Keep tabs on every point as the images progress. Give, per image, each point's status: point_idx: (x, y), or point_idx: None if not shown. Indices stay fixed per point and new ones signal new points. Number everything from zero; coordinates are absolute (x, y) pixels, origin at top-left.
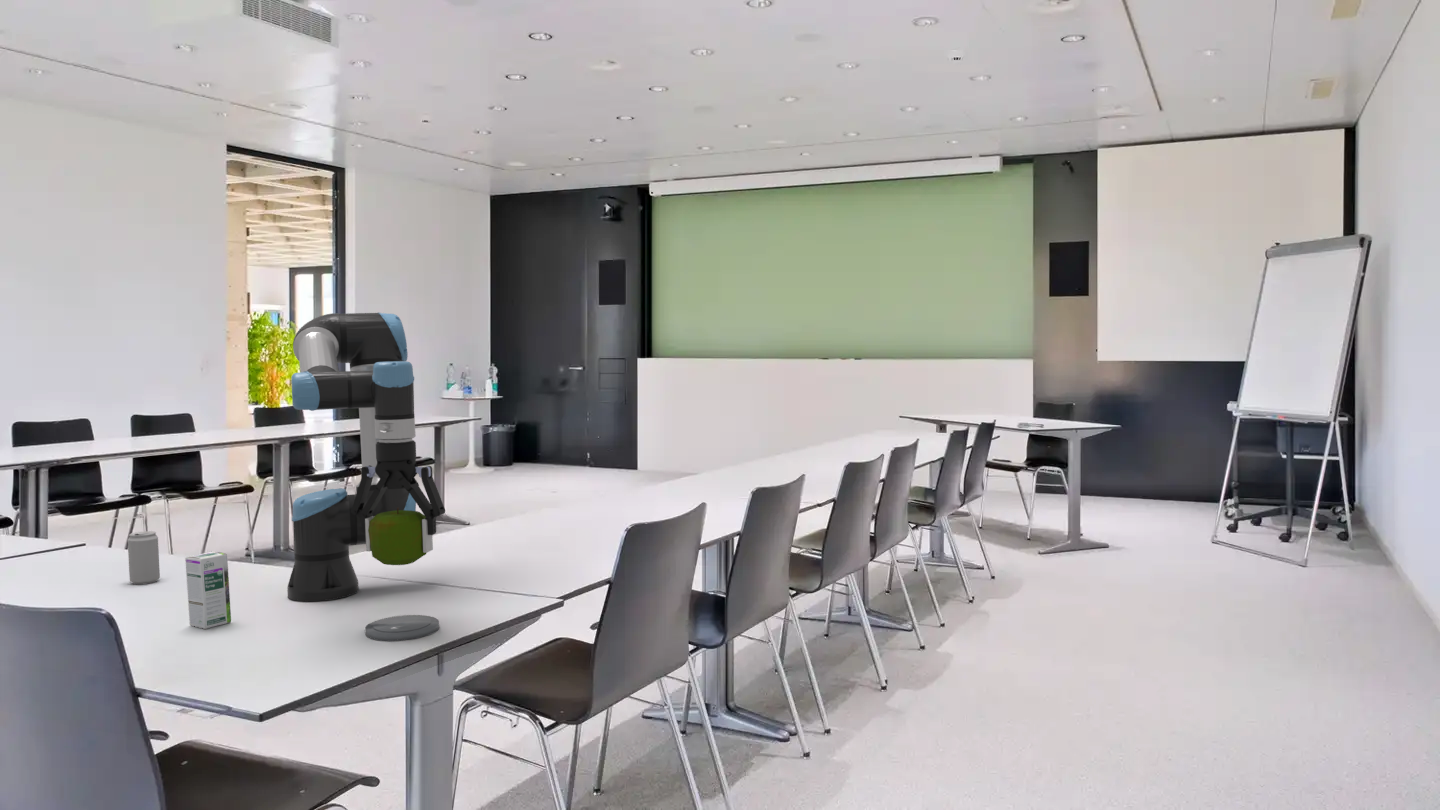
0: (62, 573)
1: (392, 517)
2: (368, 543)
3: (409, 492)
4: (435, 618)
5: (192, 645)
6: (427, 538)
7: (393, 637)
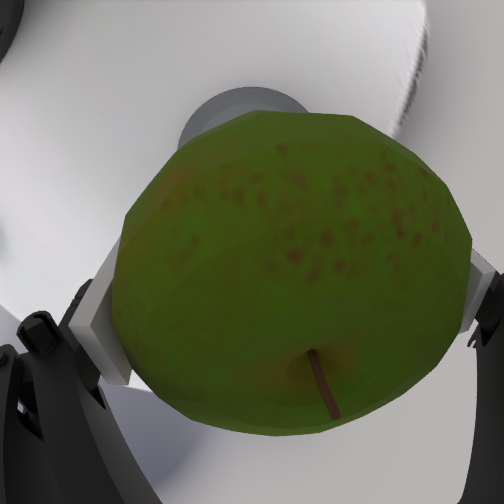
0: None
1: (330, 427)
2: None
3: (464, 491)
4: (300, 107)
5: (27, 293)
6: None
7: None
